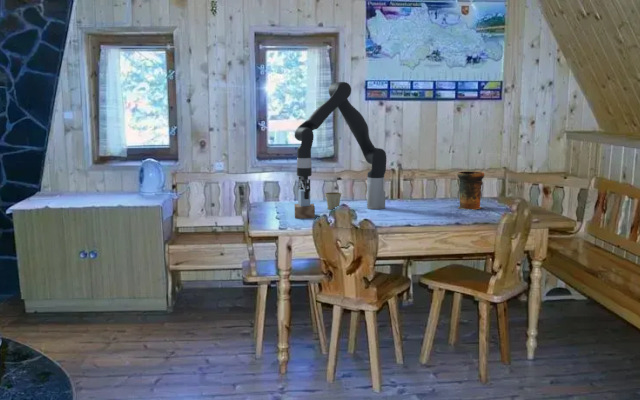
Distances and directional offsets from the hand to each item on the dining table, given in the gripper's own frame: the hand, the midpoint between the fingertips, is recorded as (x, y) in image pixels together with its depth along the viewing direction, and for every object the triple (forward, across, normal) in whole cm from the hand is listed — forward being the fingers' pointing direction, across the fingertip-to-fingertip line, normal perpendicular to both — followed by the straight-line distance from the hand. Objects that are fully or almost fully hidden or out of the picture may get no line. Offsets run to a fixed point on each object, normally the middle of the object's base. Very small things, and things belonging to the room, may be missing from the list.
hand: (304, 197), depth 329 cm
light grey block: (+4, 0, 0) cm, 4 cm away
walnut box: (+10, 0, 0) cm, 10 cm away
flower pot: (+10, +17, -21) cm, 29 cm away
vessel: (+10, -3, -94) cm, 95 cm away
